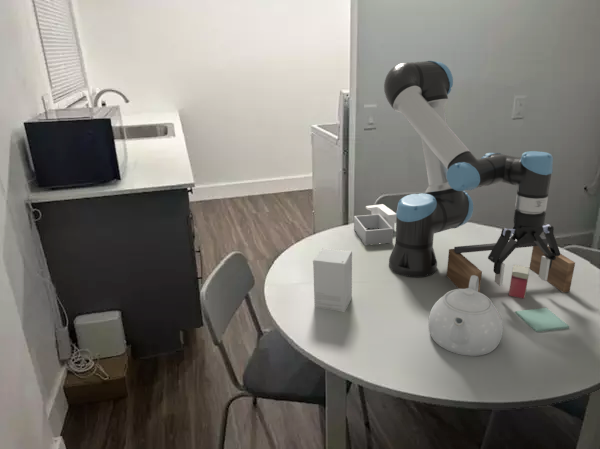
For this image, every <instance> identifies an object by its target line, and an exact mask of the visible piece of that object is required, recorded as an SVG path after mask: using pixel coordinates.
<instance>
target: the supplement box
mask: <svg viewBox="0 0 600 449" xmlns="http://www.w3.org/2000/svg"><path fill="white" fill-rule="evenodd" d="M312 265H313V295H314V297H313V298H314V303H313V304H314V307H315V308H317V309H325V310H331V311H337V312H343V313H345V312H346V311H347V309H348V307H349V305H350V302H351V300H352V298H353V289H352V288H353V267H352V266H353V251H352V250H341V249H333V248H331V249H330V248H324V247H322V248H321V249H320V251H319V252H318V254H317V255H316V256H315V258H314V259H313V260H312Z"/></svg>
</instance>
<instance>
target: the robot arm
mask: <svg viewBox="0 0 600 449" xmlns="http://www.w3.org/2000/svg"><path fill="white" fill-rule="evenodd" d="M453 84H454V78H453V74H452V72H451V69H450V68H449V67H448V65H446V64H445V63H443V62H441V61H435V60H426V61H414V62H402V63H398V64H396V65H394V66H393V67H392V68H391V69H390V70H389V71H388V72H387V74H386V76H385V79H384V83H383V90H384V94H385V98H386V100H387V102H388V104H390V106H391V108H392V109H393V110H394V111H395V112H396V113H401V114H402V116H403V117H404V118H405V120H407V121H408V122H409V124H410V125H411V127H412V128H413V129H414V130H415V132H416V133H417V134H418V136H420V138H421V144H422V145H421V146H422V150H423V158H424V163H425V169H426V174H427V182H428V187H427V188H426V190H425V192H423V193H422V192H421V193H420V192H419V193H411V194H408V195H405V196H403V197H402V198H400V199H399V201H398V202H397V207H396V208H397V209H396V212H395V213H396V216H397V217H396V223H395V224H396V225H395V243H394V245H393V249H392V251H391V253H390V256H389V257H388V258H389V259H388V267H389V268H390V270H391V271H392V272H394V273H395V274H398V275H400V276H406V277H409V278H411V277H412V278H423V277H427V276H431V275H433V274H434V273H436V272H437V269H438V267H437V266H438V261H437V257H436V253H435V249H434V237H435V234H437V233H441V232H444V231H448V230H450V229H451V230H452V229H457V228H459V227H461V226H464V225H466V224H467V223H468V222H469V221H470V219H471V218H472V216H473V212H474V202H473V199H472V197H471V196H470V195H469V193H468V192H466V191H472V190H475V189H477V188H482V187H486V186H491V185H495V184H499V183H500V184H501V183H503V184H509V185H513V186H517V190H516V198H515V205H514V206H515V209H514V215H513V227H512V228H507V227H502V229H501V233H500V235H499V236H498V239H497V241H496V242H495V243H496V244H495V246H494V248H493V249H492V250H490V253H489V255H488V256H487V259H488V260H489V261H491V262H492V263H493V269H492V270H493V273H494V274H495V276H494V282H495V284H497V285H498V286H501V287H502V286H503V282H504V273H505V266H506V264H505V263H504V261H506V259H507V258H508V257H509V256H510V255H511V254H513V252H514V250H516V249H517V248H516V247H517V246H520V245H521V243H522V244H526V243H533V242H534V241H535V243H536V244H537V245H538V247H539V248H540V249H541V251H542V252H543V253H544V254H545V255H546V256H542V257H541V264H540V271H539V275H538V278H540V279H541V280H543V281H544V282H548V281H547V278H548V271H549V269H550V268H551V265H552V260H555V259H556V257H555V256H559V255H560V254H561V252H560V248H559V246H558V242H557V240H556V238H555V237H556V236H555V234H554V229H555V228H554V226H553V225H551V224H550V223H547V222H546V223H545V220H546V214H547V213H546V211H547V208H548V207H547V206H548V200H549V189H550V184H551V178H552V174H553V163H554V157H553V155H552V154H551V153H550V152H546V151H537V150H532V151H531V150H530V151H525V152H523V153H522V154H521V157H519V156H514V155H509V154H504V153H500V152H487V153H485V154H484V155H483V156H481V158H477V157H476V156H475V155H474V154H473V153H472V152H471V151H470V149H469V148H468V147H467V146H466V144H465V143H463V141H462V140H461V139H460V138H459V136H457V135H456V133H455V132H454V131H453V129H451V128H450V127H449V125H448V123H447V117H446V116H447V115H446V110H445V107H446V105H447V103H448V102H449V98H448V96H449V94H450V93H451V91H452V88H453ZM542 233H543V234H544V236H545V237H546V240H547V243H548V246H549V248H550V250H549V248H548V247H547V246H546V244H545V243H544V242H543V240H542V238H541V237H540V236H542Z"/></svg>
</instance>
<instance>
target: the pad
mask: <svg viewBox="0 0 600 449" xmlns="http://www.w3.org/2000/svg"><path fill="white" fill-rule="evenodd" d="M514 313H515V315H517V316H518V317H520V319H521V320H522V321H523V322H524V323H526V324H527V325H528V326H529V327H530V328H531V329H532V330H534V332H546V331H554V330H555V331H556V330H565V329H569V328H570V325H569V324H567V322H565V321H563V320H562V319H561V318H560V317H558V315H556V314H555V313H554V312H553V311H551V310H550V309H549V308H547V307H543V308H533V309H524V310H516V311H514Z"/></svg>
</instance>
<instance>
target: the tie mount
mask: <svg viewBox="0 0 600 449" xmlns="http://www.w3.org/2000/svg"><path fill="white" fill-rule="evenodd" d="M547 247H548V248H549V245H548V246H547ZM549 250H550V248H549ZM542 256H546V255H545V254H544V253H543V252H542V251H541V249H540V248H539V247H538V246H532V252H531V256H530V264H529V267H530V268H529V270H531V271H532V272H534V273H535V274H536V275H538V276H539V271H540V264H541V257H542ZM555 257H556V259H555V260H552V265H551V268H550V269H549V271H548V278H547V281H546V282H548V283H549V284H551V285H552V286H554V287H555V288H556V289H558V290H559V291H561V293H569V292H570V290H571V286H572V280H573V276H574V270H575V266H576V262H575V261H574V260H572V259H570V258H568V257H566V256H565V255H563V254H562V253H560V255H559V256H555ZM446 266H447V267H446V278H448V279H449V280H450V281H451V282H452V283H453V284H454V286H455V287H456V288H457V289H466V288H469V282H470V278H471V276H472V275H475V276H478V278H479V286H478V292H480V293H481V291H480V290H481V284H482V283H481V282H482V275H483V274H482V273H483V271H482V270H480V269H479V268H478V267H477V266H476V265H475V264H474V263H473V262H471V261H470V260H469V259H468V258H467V257H465V256H464V255H463V253H455V252H454V248H449V249H448V257H447V265H446Z"/></svg>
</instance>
